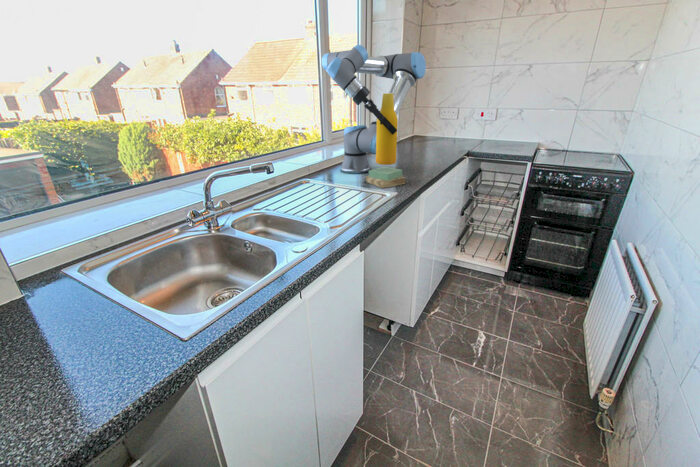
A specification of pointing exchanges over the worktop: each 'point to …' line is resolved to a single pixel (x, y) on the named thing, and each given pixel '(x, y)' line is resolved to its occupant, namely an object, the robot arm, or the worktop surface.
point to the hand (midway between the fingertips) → (394, 131)
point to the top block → (385, 173)
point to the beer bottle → (386, 133)
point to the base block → (385, 183)
